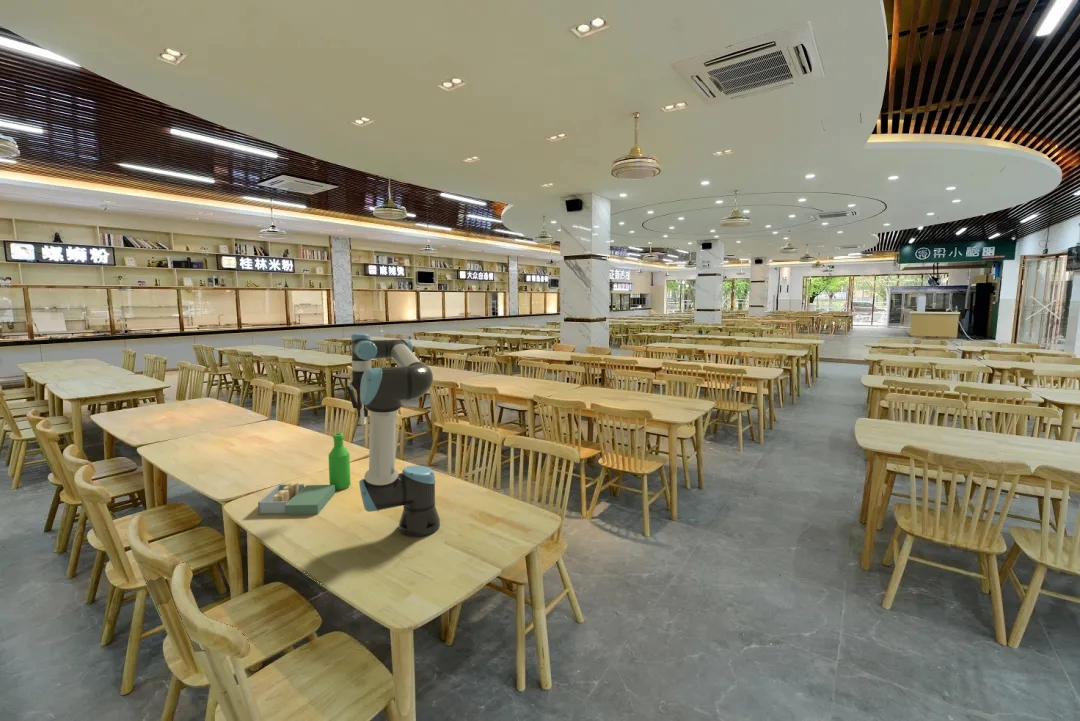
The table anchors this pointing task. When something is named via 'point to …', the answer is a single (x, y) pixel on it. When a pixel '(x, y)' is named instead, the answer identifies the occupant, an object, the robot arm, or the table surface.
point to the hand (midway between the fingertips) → (363, 424)
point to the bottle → (339, 464)
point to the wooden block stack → (292, 489)
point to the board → (310, 499)
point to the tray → (274, 507)
